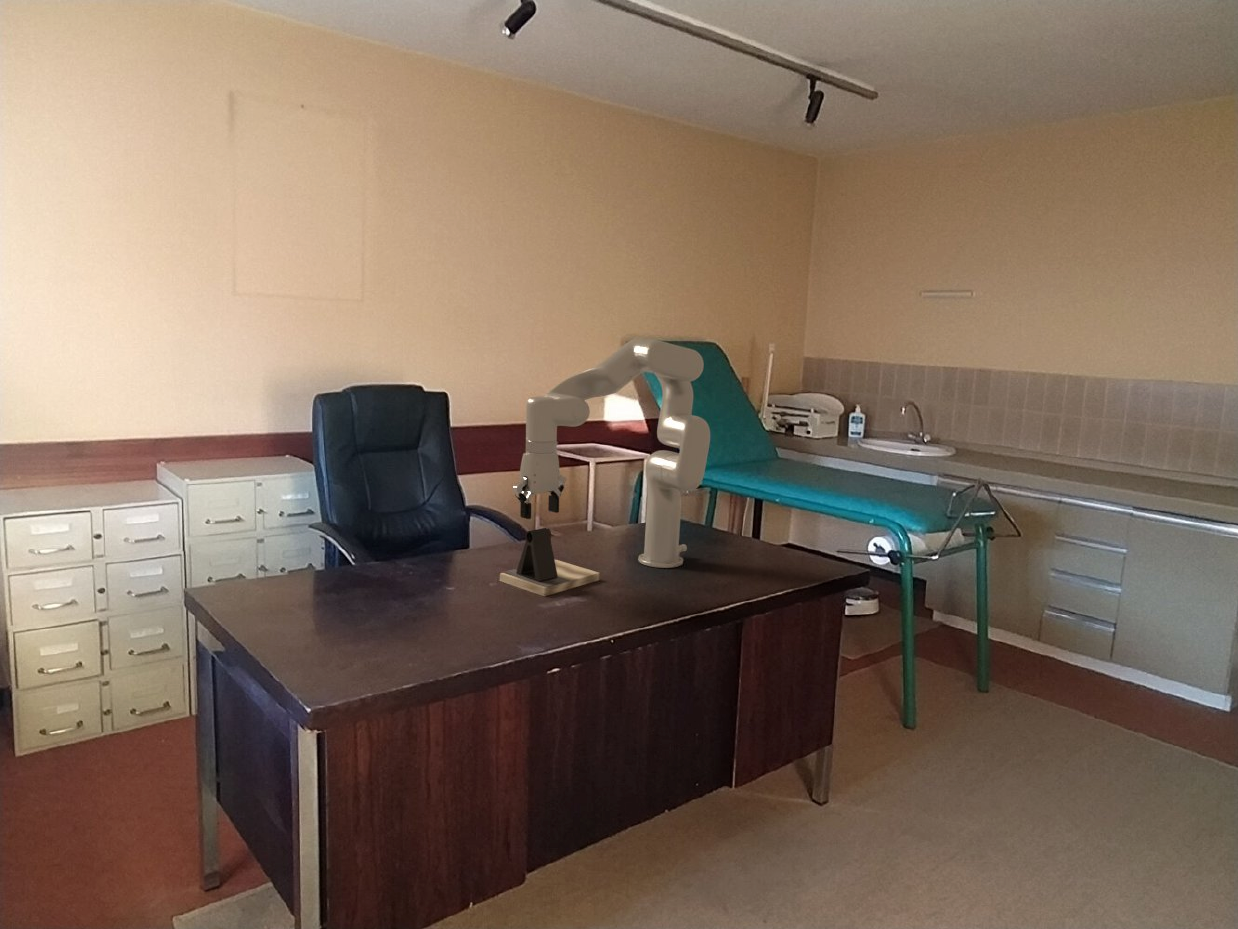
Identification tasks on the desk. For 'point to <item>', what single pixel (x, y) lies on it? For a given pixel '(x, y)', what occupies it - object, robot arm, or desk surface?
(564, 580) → the subfloor panel
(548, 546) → the dark a-frame stand
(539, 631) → the desk surface
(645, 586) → the desk surface
